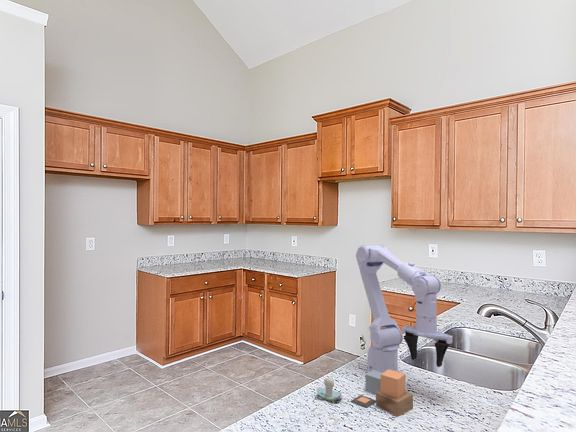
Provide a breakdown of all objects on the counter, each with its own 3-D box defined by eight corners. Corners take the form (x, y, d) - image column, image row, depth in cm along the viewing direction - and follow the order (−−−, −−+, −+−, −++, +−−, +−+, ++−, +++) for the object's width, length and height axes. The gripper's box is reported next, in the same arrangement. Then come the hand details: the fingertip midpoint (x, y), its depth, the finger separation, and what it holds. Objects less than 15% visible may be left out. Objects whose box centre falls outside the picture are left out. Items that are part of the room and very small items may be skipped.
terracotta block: (380, 392, 99) (380, 374, 99) (388, 386, 103) (388, 369, 103) (397, 398, 96) (397, 379, 96) (405, 392, 100) (405, 373, 100)
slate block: (365, 391, 109) (365, 374, 109) (374, 386, 112) (374, 369, 112) (380, 396, 105) (380, 379, 105) (388, 391, 109) (388, 374, 109)
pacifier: (323, 391, 108) (314, 398, 103) (323, 370, 109) (314, 376, 104) (346, 397, 105) (338, 405, 99) (346, 375, 105) (338, 382, 100)
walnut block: (376, 407, 99) (376, 392, 99) (391, 399, 104) (391, 385, 104) (398, 417, 94) (398, 402, 94) (412, 409, 98) (412, 394, 98)
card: (351, 401, 101) (351, 399, 101) (361, 396, 105) (361, 394, 105) (366, 408, 98) (366, 405, 98) (376, 401, 102) (376, 399, 102)
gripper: (397, 313, 109) (397, 359, 109) (445, 323, 99) (445, 373, 98) (408, 310, 114) (408, 353, 114) (455, 318, 104) (455, 366, 103)
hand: (426, 362), depth 106 cm, fingers open, 7 cm apart
